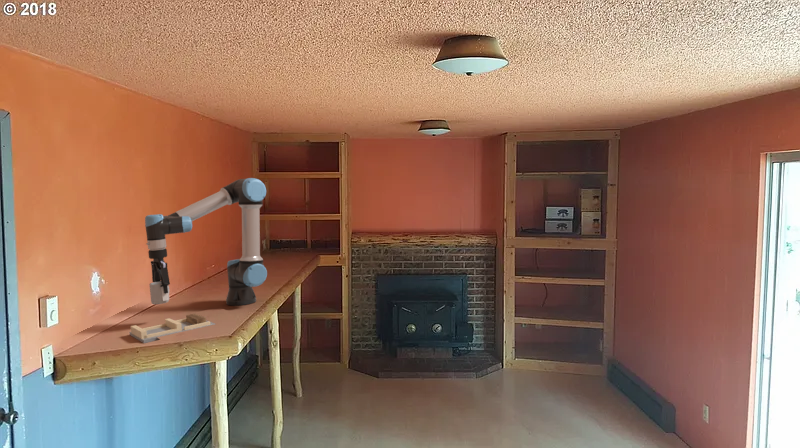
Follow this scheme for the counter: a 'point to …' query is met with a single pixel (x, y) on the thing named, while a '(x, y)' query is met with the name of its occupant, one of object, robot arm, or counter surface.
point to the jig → (164, 329)
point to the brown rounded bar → (195, 319)
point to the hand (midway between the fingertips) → (162, 299)
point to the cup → (156, 293)
